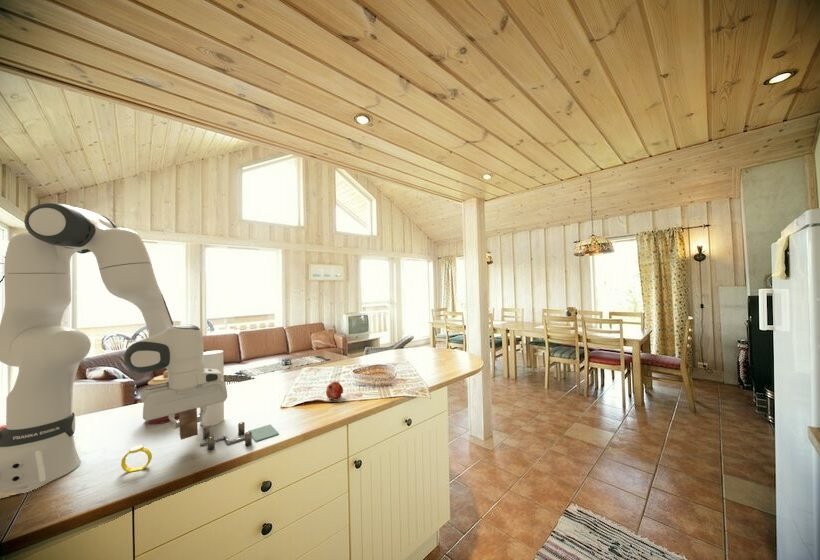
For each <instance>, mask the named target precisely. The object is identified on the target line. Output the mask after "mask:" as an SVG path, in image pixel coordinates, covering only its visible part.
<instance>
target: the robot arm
mask: <svg viewBox="0 0 820 560" xmlns="http://www.w3.org/2000/svg"><path fill="white" fill-rule="evenodd" d="M23 221H24V223H23V224H24V227H25V229H26V230H27V232H22V233H17V234H15V235H14V236H12V237H11V238H10V239H9V241H8V245H7V247H6V252H5V257H4V267H3V269H4V270H3V271H4V272H3V273H4V276H3V278H4V309H3V313H2V317H1V320H0V362H1V363H2V364H4V365H7V366H10V367H18V373H17V377H16V380H15V383H14V385H13V388H12V390H11V391H10V392H8V394H7V396H6V403H5V404H6V407H5V411H6V412H5V415H6V416H5V418H6V419H5V424H3V425H0V491H2V492H3V493H4V494H7V493H22V492H27V491H31V490H34V489H36V488H38V489H40V488H41V486H42V487H43V486H46V484H48V483H50V482H53V481H54V480H57V479H59V478H61V477H63V476H65V475H67V474H69V473H70V472H72V471H74V470H75V469H77V468H78V467H79V466H80V464H81V461H82V460H81V459H80V457H79V454H78V451H77V448H76V444H75V443H76V442H75V439H74V434H75V431H76V417H75V416H76V415H75V412H73V396H74V395H73V394H74V393H73V390H74V382H75V379H76V375H77V373H78V369H79V367H80V365H81V363H82V361H83V360H84V359H85V358H86V357H87V356H88V354H89V353H90V350H91V348H92V345H91V340H90V338H89V336H88V335H87V334H86V333H84V332H83V331H80V330H78V329H75V328H73V327H68V326H64V325H63V326H61V325H62V320H63V317H64V313H65V312H66V309H67V308H68V306H69V305H71V303H72V288H71V287H72V284H71V283H72V282H71V263H70V262H71V258H72V256H73V255H74V254H75V253H77V254H87V253H90V252H91V253H92V254H93V255H94V257H95V259H96V261H97V266H98V269H99V273H100V277H101V281H102V283H103V284H104V286H105V288H106V290H107V291H108V293H110V294H111V295H113V296H115V297H117V298H120V299H123V300H125V301H127V302H129V303H131V304H133V305H134V306H135V307H136V308H138V310H139V311H140V313H141V314H142V317H143V320H144V322H145V326H146V327H147V330H148V333H149V337H145V338H143V339H141V340H138V341H136V342H134V343H132V344H131V345H129V346H128V347H127V349H126V350H125V352H124V356H123V361H124V364H125V366H126V368H127V369H129V370H130V371H131V372H133V373H137V374H146V373H152V372H156V371H159V370H162V369H165V370H167V371H168V382H165V383H161V384H157V385H150V386H149V385H148V386H147V387H145V388H144V389H143V390H141V391H140V396H139V397H140V402H141V403H143V407H142V419H143V420H144V421H145V422H146V421H149V420H153V419H156V418H160V417H164V416H168V417H169V420H170V422H172V424H173V430H176V429H180V420H179V419H176V420H175V419H174V417H175V414H176V413H180V412H183V411H187V410H191V409H195V408H197V409H199V408H200V409H201V412H199V414H197V424H198V423H200V422H201V421H203V418H202V416H203V415H204V413H205V411H206V409H207V407H206V406H208V405H212V404H216V403H220V402H224V403H225V401H227V398H228V390H227V385H226V382H225V380H224V381H223V380H222V373H221V372H220V371H219V370H217V369H207V368H204V363H203V359H202V357H203V353H204V352H205V351H204V337H203V333H202V331H201V329H200V327H199V326H198V325H194V324H187V323H177V324H174V322H173V319H172V317H171V313H170V311H169V307H168V306H167V303H166V300H165V298H164V295H163V293H162V290H161V289H160V287H159V284H158V282H157V278H156V274H155V271H154V269H153V265H152V262H151V261H152V260H151V258H150V255H149V252H148V250H147V248H146V246H145V243H144V241H143V239H142V238H141V236H140V234H139V233H138V232H136V231H135V230H132V229H130V228H125V227H124V228H123V227H118V226H117V224H116V223H114V221H112V220H111V219H110V218H108V217H106V216H104V215H102V214H99V213H96V212H94V211H92V210H88V209H85V208H80V207H75V206H72V205H68V204H65V203H57V202H45V203H40V204H38V205H35V206H32V207H31V208H30V209H29V210H28V211H27V213H26V214H25V216H24V219H23ZM146 389H148V390H146ZM200 409H199V410H200ZM39 487H40V488H39ZM36 490H37V489H36ZM34 491H35V490H34ZM31 492H32V491H31Z"/></svg>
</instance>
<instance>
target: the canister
mask: <svg viewBox="0 0 820 560" xmlns="http://www.w3.org/2000/svg"><path fill="white" fill-rule="evenodd" d="M165 382H168V371H167V369H165V370H164V371H163V373H162V375H161V374H160V375H158V376H155V377H153V378H152V379H151V380H149V381H148V382H147V384H148V386H150V385H157V384H161V383H165ZM146 390H148V389H146ZM174 419H175V420H176V421H177V420H179V413H176V414H175V417H174ZM169 421H170V420H169V417H168V416H164V417H160V418H156V419H153V420H149V421H146V420H145V423H147V424H149V425H158V424H164V423H169ZM170 422H171V421H170Z"/></svg>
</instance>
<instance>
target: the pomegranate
mask: <svg viewBox="0 0 820 560" xmlns="http://www.w3.org/2000/svg"><path fill="white" fill-rule="evenodd" d="M343 392H344V389H343V386H342V384H341V383H340V382H339V381H332V382H331V383H330V384H328V385H327V387H326V389H325V393H326V398H328V399H329V398H331V399H330V400H333V399H338V398H339V399H340V398H341V397H342V394H343ZM339 399H338V400H339Z"/></svg>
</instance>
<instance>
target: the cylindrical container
mask: <svg viewBox="0 0 820 560" xmlns="http://www.w3.org/2000/svg"><path fill="white" fill-rule="evenodd" d="M202 359H203V363H204V368H207V369H217V370H219V371H220V372H221V373H222V380H223V381H224V382H225V380H224V379H225V378H224V377H225V375H224V371H225V369H224V365H225V364H224V350H219V349H217V350H208V351H204V353H203V357H202ZM224 404H225V401H224V402H220V403H216V404H212V405H208V406H206V407H207V409H206V411H205V413H204V415H203V416H202V418H203V421H201V422H199V423H200V426H202V425H203V426H202V427H205V426H210V425H211V426H215V425H218V424H220V423H222V422H223V421H224V420H225V406H224ZM199 411H200V412H201V409H199ZM200 412H199V413H200Z"/></svg>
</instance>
